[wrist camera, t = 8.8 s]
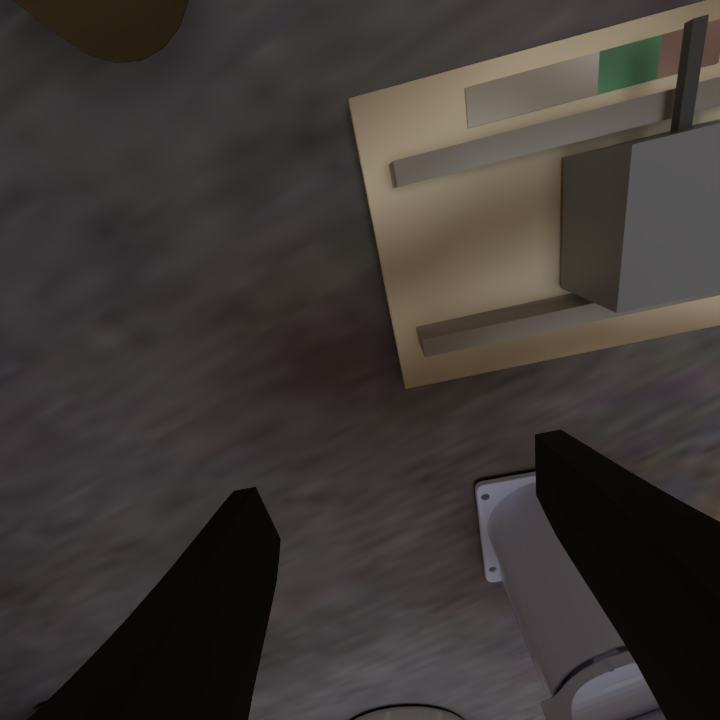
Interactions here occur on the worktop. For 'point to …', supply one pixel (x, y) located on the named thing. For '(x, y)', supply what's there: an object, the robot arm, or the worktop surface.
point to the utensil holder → (409, 714)
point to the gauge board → (515, 194)
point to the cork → (111, 24)
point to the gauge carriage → (647, 207)
